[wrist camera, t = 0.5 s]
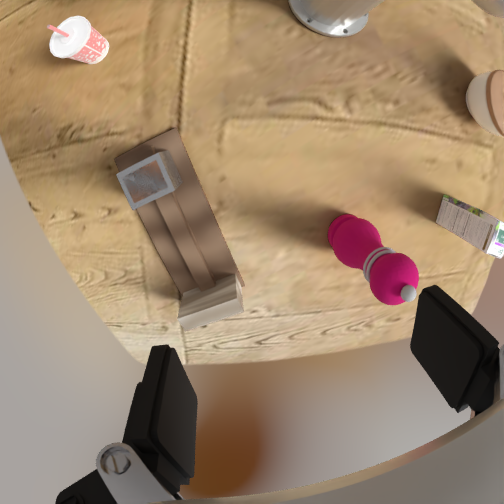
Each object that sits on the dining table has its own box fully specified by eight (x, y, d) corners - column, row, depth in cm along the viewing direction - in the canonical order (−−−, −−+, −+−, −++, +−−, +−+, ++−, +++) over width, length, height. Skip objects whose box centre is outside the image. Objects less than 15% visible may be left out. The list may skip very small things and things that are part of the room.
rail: (116, 158, 37) (92, 164, 30) (176, 127, 36) (164, 126, 29) (188, 303, 47) (182, 333, 40) (244, 283, 46) (247, 311, 39)
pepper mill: (327, 258, 46) (382, 334, 28) (321, 216, 43) (383, 277, 25) (367, 247, 46) (435, 313, 27) (363, 206, 43) (441, 257, 25)
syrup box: (461, 201, 44) (514, 225, 31) (452, 229, 46) (502, 259, 33) (442, 193, 43) (498, 217, 30) (434, 223, 45) (486, 255, 32)
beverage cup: (96, 27, 28) (52, -2, 15) (121, 43, 30) (80, 12, 17) (72, 58, 30) (20, 40, 17) (95, 75, 32) (45, 57, 19)
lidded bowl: (449, 70, 34) (491, 66, 24) (487, 74, 34) (525, 73, 23) (462, 136, 39) (505, 143, 29) (497, 132, 38) (535, 139, 28)
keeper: (131, 168, 37) (116, 174, 31) (168, 149, 36) (158, 152, 31) (145, 199, 39) (132, 210, 33) (182, 182, 38) (175, 190, 33)
